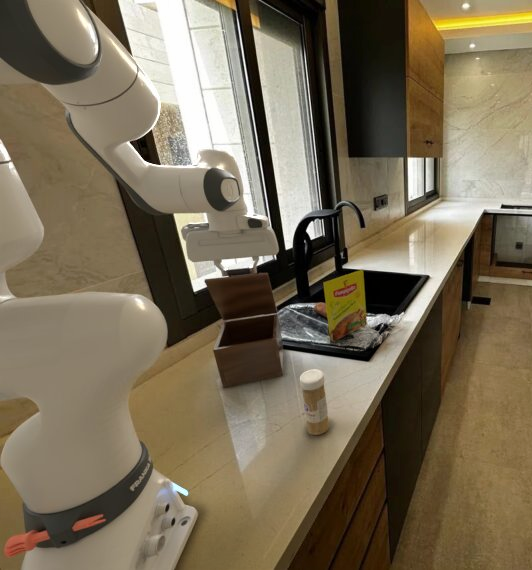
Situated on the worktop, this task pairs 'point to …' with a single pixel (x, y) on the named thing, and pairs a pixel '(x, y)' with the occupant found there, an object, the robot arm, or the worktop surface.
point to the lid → (242, 294)
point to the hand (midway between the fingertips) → (240, 274)
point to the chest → (249, 349)
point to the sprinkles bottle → (314, 401)
